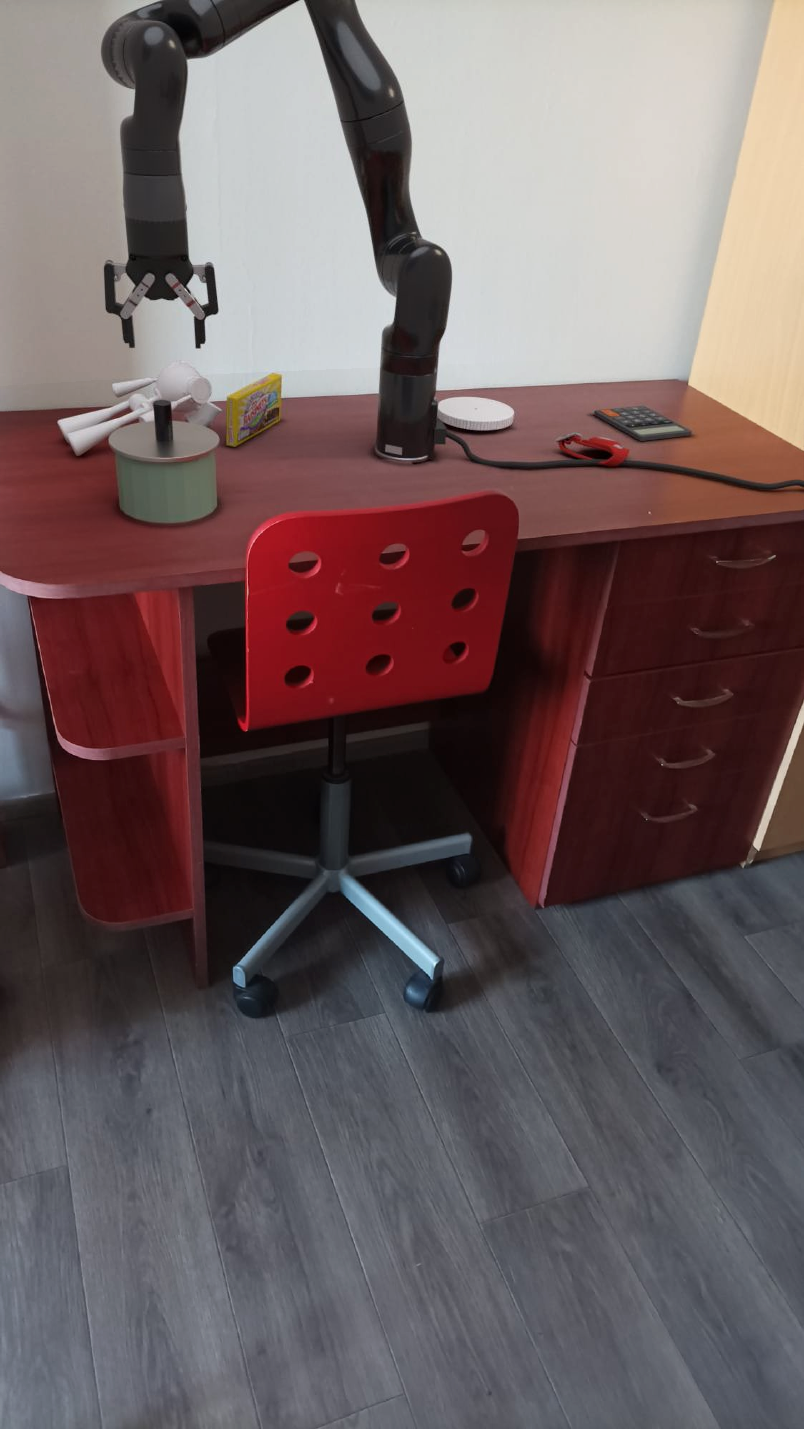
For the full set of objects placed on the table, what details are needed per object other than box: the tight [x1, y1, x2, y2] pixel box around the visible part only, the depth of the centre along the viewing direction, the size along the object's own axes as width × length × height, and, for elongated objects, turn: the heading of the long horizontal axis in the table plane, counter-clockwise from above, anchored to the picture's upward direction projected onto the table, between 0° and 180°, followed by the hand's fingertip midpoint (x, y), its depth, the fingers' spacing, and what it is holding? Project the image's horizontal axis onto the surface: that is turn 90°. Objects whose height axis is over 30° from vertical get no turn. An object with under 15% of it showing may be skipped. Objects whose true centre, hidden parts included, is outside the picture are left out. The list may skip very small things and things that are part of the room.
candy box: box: [225, 372, 283, 448], centre depth 175 cm, size 16×2×8 cm, turn 158°
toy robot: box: [57, 360, 222, 457], centre depth 169 cm, size 19×12×25 cm
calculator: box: [593, 405, 693, 442], centre depth 194 cm, size 12×1×15 cm
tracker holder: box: [555, 432, 630, 468], centre depth 176 cm, size 12×4×10 cm
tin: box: [114, 450, 218, 524], centre depth 147 cm, size 14×14×10 cm
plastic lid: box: [437, 396, 515, 431], centre depth 188 cm, size 14×14×2 cm
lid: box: [108, 400, 221, 462], centre depth 143 cm, size 15×15×6 cm
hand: (165, 346), depth 138 cm, fingers open, 8 cm apart
